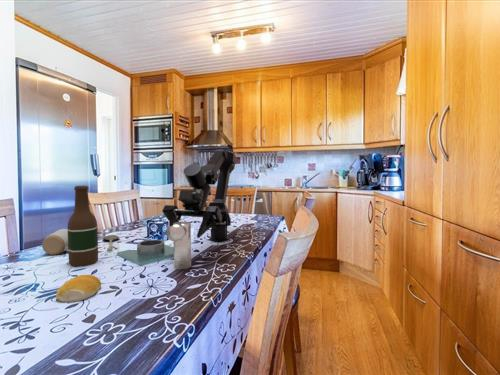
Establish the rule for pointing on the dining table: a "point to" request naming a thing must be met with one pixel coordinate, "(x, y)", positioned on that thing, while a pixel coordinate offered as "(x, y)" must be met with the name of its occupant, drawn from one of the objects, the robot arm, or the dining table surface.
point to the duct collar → (148, 252)
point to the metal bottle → (181, 244)
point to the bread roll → (78, 288)
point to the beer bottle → (82, 231)
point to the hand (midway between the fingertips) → (183, 236)
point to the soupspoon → (110, 237)
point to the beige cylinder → (56, 242)
